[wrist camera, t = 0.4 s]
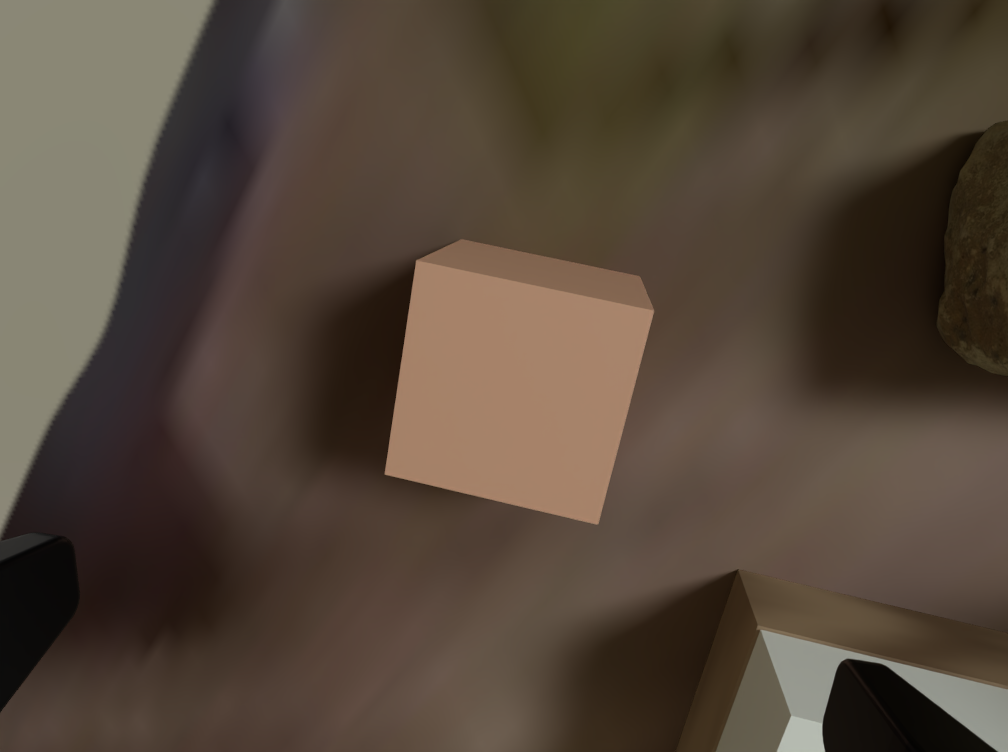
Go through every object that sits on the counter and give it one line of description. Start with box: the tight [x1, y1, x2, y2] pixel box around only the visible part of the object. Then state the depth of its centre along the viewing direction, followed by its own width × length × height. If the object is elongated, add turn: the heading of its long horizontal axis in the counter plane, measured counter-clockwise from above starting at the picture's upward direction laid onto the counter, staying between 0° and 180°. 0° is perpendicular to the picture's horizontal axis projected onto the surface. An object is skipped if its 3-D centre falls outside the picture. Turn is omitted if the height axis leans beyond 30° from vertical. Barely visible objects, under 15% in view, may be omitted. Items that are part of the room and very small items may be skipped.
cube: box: [385, 239, 654, 525], centre depth 17 cm, size 5×5×5 cm
